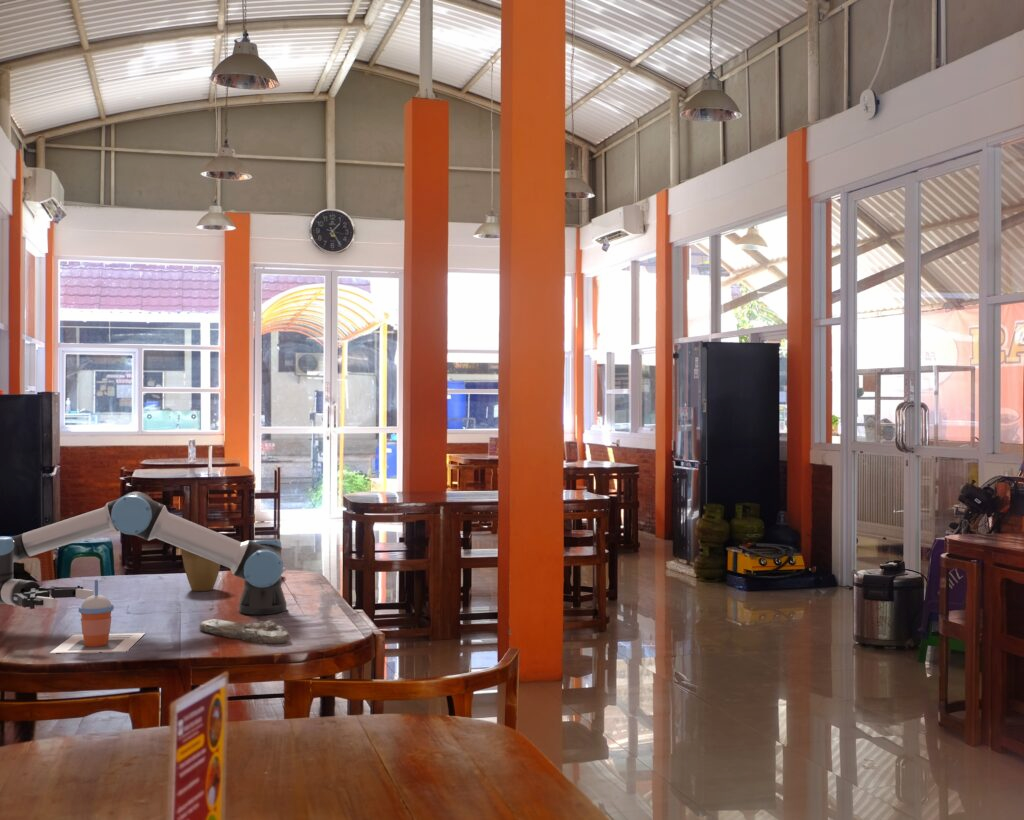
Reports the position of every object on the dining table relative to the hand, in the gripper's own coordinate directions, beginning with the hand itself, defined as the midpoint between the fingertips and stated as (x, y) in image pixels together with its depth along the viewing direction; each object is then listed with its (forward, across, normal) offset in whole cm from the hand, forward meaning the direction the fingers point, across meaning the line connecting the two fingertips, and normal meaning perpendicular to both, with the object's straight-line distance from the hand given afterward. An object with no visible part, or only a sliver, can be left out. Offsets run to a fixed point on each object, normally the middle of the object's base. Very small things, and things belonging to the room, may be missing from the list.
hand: (73, 599), depth 295 cm
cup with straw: (+10, +1, -12) cm, 15 cm away
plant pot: (-26, -79, -12) cm, 84 cm away
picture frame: (+8, -2, -12) cm, 15 cm away
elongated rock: (+37, -28, -13) cm, 48 cm away
